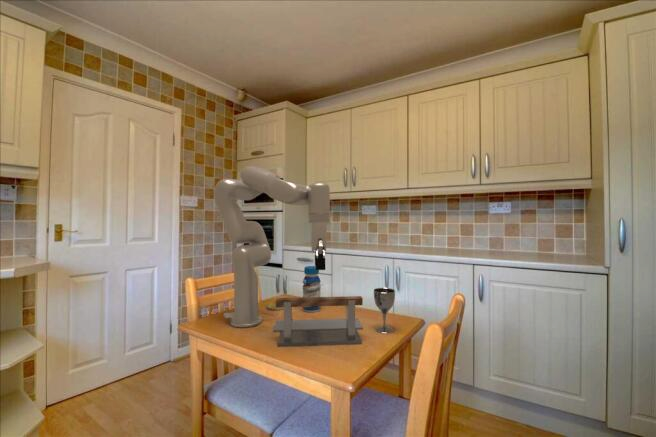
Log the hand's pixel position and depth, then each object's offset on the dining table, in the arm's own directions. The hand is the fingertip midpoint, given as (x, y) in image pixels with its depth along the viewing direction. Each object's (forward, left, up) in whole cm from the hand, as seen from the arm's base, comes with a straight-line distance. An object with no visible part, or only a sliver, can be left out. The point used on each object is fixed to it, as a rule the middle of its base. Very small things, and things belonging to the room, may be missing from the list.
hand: (319, 267), depth 106 cm
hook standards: (0, 0, -25) cm, 25 cm away
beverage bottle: (-2, +35, -25) cm, 43 cm away
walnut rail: (0, 0, -13) cm, 13 cm away
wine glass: (+25, +7, -25) cm, 36 cm away
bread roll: (-19, +40, -26) cm, 51 cm away
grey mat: (0, +14, -25) cm, 29 cm away
